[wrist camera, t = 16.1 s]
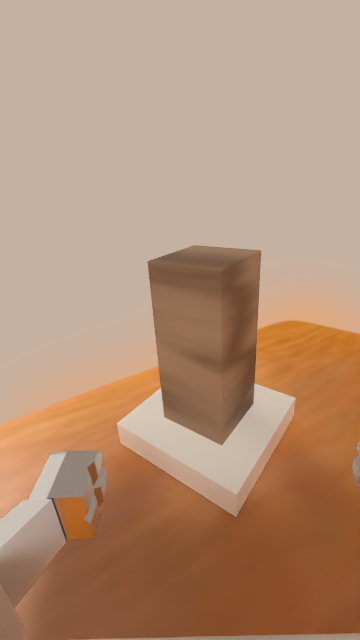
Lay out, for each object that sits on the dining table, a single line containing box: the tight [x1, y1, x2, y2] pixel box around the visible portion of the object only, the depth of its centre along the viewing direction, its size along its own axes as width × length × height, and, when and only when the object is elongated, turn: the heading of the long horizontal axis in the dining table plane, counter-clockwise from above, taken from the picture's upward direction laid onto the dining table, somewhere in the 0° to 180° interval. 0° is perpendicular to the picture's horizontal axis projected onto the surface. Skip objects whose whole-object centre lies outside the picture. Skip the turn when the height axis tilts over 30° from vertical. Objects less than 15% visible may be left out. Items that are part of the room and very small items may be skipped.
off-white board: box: [117, 383, 296, 517], centre depth 24 cm, size 10×10×2 cm
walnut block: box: [148, 246, 261, 445], centre depth 21 cm, size 5×5×12 cm
